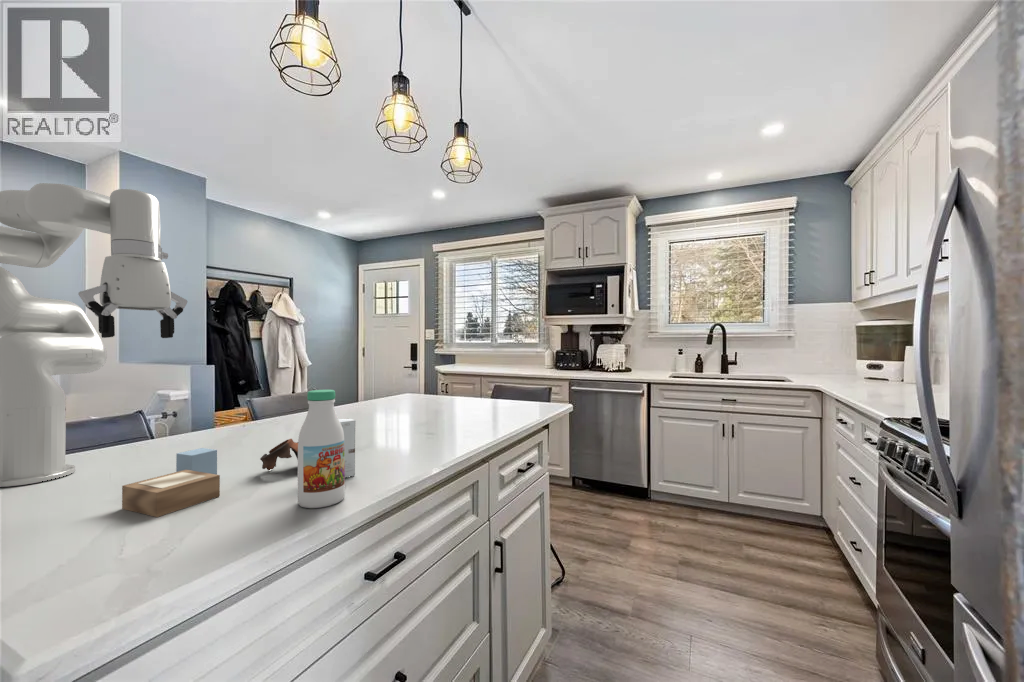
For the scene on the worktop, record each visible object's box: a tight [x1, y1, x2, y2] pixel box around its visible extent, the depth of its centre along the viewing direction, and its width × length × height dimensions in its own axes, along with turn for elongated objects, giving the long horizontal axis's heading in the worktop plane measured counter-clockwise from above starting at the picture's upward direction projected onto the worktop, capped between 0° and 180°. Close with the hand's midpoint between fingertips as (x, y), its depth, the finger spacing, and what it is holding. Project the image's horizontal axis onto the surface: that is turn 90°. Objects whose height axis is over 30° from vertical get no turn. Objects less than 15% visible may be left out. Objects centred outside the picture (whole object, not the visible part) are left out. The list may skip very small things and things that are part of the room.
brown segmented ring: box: [259, 438, 298, 471], centre depth 94 cm, size 12×10×8 cm
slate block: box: [175, 447, 218, 475], centre depth 87 cm, size 5×5×6 cm
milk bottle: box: [297, 389, 346, 509], centre depth 74 cm, size 8×8×20 cm
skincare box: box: [338, 417, 356, 478], centre depth 88 cm, size 6×4×12 cm
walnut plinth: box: [121, 470, 221, 518], centre depth 74 cm, size 10×10×4 cm
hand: (139, 337), depth 83 cm, fingers open, 9 cm apart
